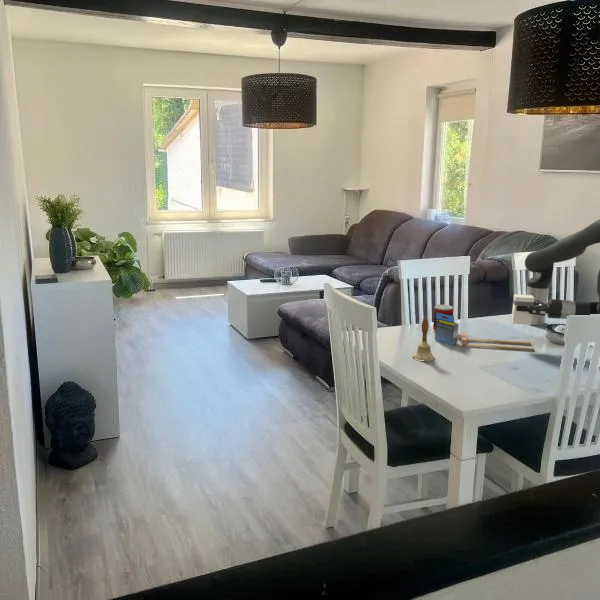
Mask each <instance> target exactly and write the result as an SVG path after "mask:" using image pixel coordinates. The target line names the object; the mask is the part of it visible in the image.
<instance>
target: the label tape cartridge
mask: <svg viewBox="0 0 600 600" xmlns="http://www.w3.org/2000/svg"><path fill="white" fill-rule="evenodd" d="M442 316H443V317H444V316H445V317H447V318H448V319H445V318H442ZM458 334H459V323H457V322H455V316H454V315H453V316H450V315H446V314H441V313H437V312H436V327H435V331H434V341H435V340H436V341H435V342H438V341H439V343H443V344H446V343H447V345H451V346H454V345H457V344H458ZM456 343H457V344H456Z"/></svg>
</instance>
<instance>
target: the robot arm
mask: <svg viewBox="0 0 600 600" xmlns="http://www.w3.org/2000/svg"><path fill="white" fill-rule="evenodd" d="M595 244H600V218H599V219H597V220H595V221H593V222H592V223H590V224H589V225H588V226H586V227H584V228H583V229H581V230H579V231H577V232H575V233H572V234H571V235H567V236H566V237H564V238H561V239H560V240H558V241H556V242H554V243H552V244H550V245H548V246H546V247H545V248H541V249H539V250H537V251H536V250H535V251H531V252H530V253H529V254H528V255H527V256H526V257H525V259H524V267H525V269H526V270H527V271H528V272H531V273H536V274H535V275H534V276H533V277H531V278H529V279H528V280H527V284H526V292H525V293H526V294H525V295H532V296H533V297H534V305H533V306H517V307H516V310H517V311H522V312H526V311H527V313H529V314H532V323H531V325H530V326H544V325H545V324H546V317H547V318H548V319H557V320H559V319H561V320H568V319H567V316H569V315H590V314H600V269H599V271H598V273H597V278H596V279H597V282H596V292H597V293H596V294H597V296H598V301H590V302H587V301H580V300H577V301H576V300H568V299H556V298H555V299H554V298H552V299H551V298H549V299H548V297H549V290H550V289H549V288H550V284H551V283H552V278H553V272H554V268H555V267H554V265H555V264H556V263H561V262H566V261H570V260H572V259H575V258H578V257H579V256H581V255H582V254H584V253H585V251H586V250H587V248H588V247H590V246H593V245H595Z"/></svg>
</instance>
